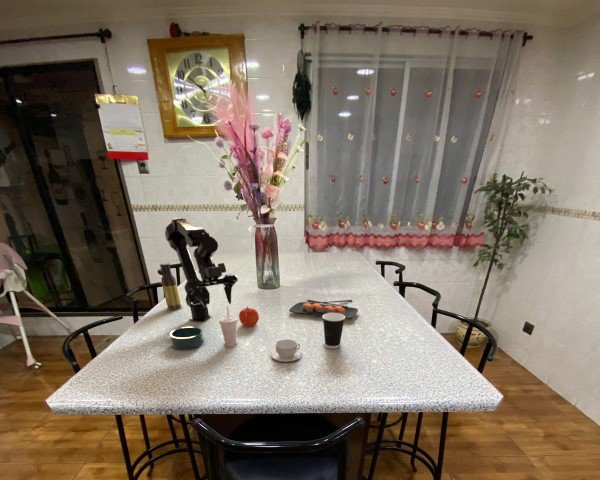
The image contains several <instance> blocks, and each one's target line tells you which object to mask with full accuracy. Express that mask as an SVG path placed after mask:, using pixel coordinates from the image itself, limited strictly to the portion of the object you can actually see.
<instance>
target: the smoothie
mask: <svg viewBox="0 0 600 480" xmlns="http://www.w3.org/2000/svg"><path fill="white" fill-rule="evenodd" d="M229 312H230V311H229V306H228V305H227V306H226V314H227V315H226V316H222V317H219V319H218V324H220V329H221V333H222V336H223V340H224V344H225V346H226V347H228V348H230V347H236V345H237V322H238V318H237V317H236V316H233V315H232V316H231V315H230V313H229Z"/></svg>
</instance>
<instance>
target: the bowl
mask: <svg viewBox="0 0 600 480" xmlns="http://www.w3.org/2000/svg"><path fill="white" fill-rule="evenodd" d="M169 337H170V343H171V345H172V348H173V347H174V348H175V349H178V350H183V351H185V350H193V349H196V348H199V347H200V346H202V345H203V344H204V341H205V340H204V335H203V329H202V328H200V327H197V326H183V327H179V328H176V329H173V330H172V331H171V332H170V333H169Z"/></svg>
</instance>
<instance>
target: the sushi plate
mask: <svg viewBox="0 0 600 480" xmlns="http://www.w3.org/2000/svg"><path fill="white" fill-rule="evenodd" d="M345 302H347V303H348V302H349V303H350V302H353V300H352V299H345V300H344V299H342V300H333V301H318V300H312V299H307V301H300V302H297V303H296V304H294V305H293V306H292V307H290V308H289V312H290V313H294V314H298V315H303V316H310V317H312V316H313V317H318V318H319V317H320V318H322V316H323V315H324V314H326V313H340V314H343V315H344V316H345V319H344V320H350V319H353V318H354V317H355V316H356V315H357V313H358V312H359V311H358V310H359V309H358V308H356V307H350V306H348V305H341V304H335V303H345Z"/></svg>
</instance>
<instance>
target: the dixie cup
mask: <svg viewBox="0 0 600 480" xmlns="http://www.w3.org/2000/svg"><path fill="white" fill-rule="evenodd" d="M321 318H322V320H323V334H324V344H325V347H326V348H328V349H330V350H331V349H333V350H334V349H338V348H339V347H340V345H341V341H342V335H343V329H344V322H345V320H346V319H345V316H344V315H343V314H340V313H326V314H324V315H323V316H322V317H321Z"/></svg>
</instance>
